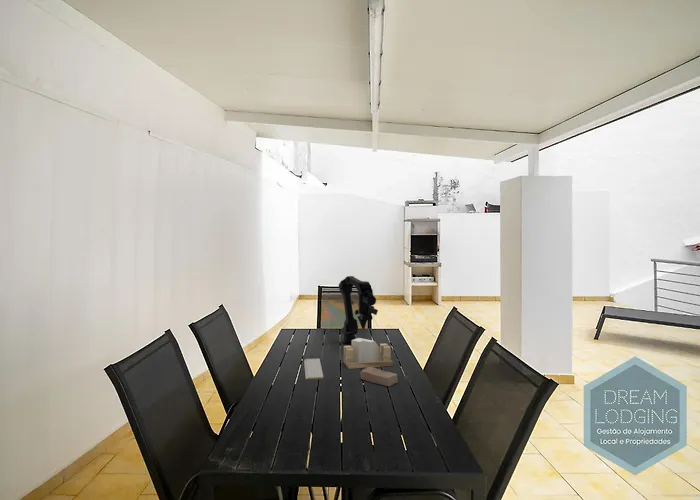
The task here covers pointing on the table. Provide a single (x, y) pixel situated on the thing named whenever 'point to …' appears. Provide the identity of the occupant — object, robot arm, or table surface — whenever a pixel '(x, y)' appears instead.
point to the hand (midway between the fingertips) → (363, 328)
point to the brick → (378, 376)
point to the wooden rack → (384, 357)
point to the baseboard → (313, 369)
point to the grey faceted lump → (365, 350)
